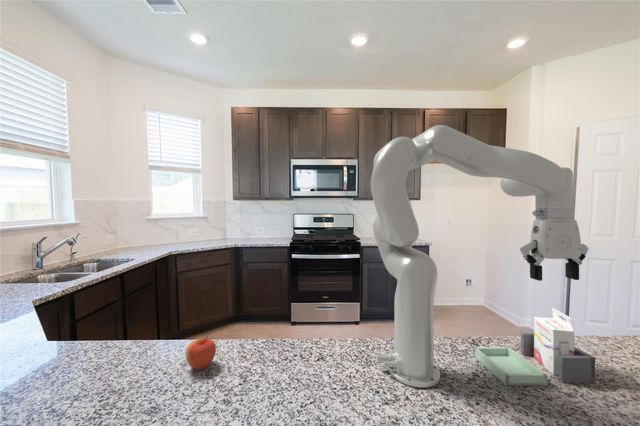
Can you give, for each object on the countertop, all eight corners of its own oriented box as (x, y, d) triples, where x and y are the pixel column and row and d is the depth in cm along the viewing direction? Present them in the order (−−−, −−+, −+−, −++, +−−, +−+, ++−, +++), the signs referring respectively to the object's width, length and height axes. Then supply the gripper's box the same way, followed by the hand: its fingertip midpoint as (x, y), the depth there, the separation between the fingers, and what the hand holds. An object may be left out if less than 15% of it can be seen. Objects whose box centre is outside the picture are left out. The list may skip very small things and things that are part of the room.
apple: (183, 365, 71) (182, 336, 71) (211, 356, 76) (211, 328, 76) (189, 379, 65) (189, 347, 65) (219, 368, 70) (219, 338, 70)
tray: (505, 385, 63) (505, 375, 62) (473, 355, 76) (473, 347, 75) (547, 385, 63) (547, 375, 63) (507, 355, 76) (507, 346, 76)
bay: (562, 382, 64) (562, 358, 64) (520, 353, 77) (520, 333, 77) (595, 382, 64) (595, 357, 64) (548, 353, 77) (548, 332, 77)
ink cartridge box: (532, 357, 75) (532, 305, 75) (552, 359, 74) (552, 306, 74) (552, 375, 66) (552, 317, 66) (575, 378, 65) (576, 319, 65)
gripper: (532, 215, 66) (533, 283, 66) (601, 214, 66) (601, 282, 66) (510, 215, 74) (511, 276, 74) (572, 214, 74) (572, 275, 74)
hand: (554, 279), depth 70 cm, fingers open, 9 cm apart
